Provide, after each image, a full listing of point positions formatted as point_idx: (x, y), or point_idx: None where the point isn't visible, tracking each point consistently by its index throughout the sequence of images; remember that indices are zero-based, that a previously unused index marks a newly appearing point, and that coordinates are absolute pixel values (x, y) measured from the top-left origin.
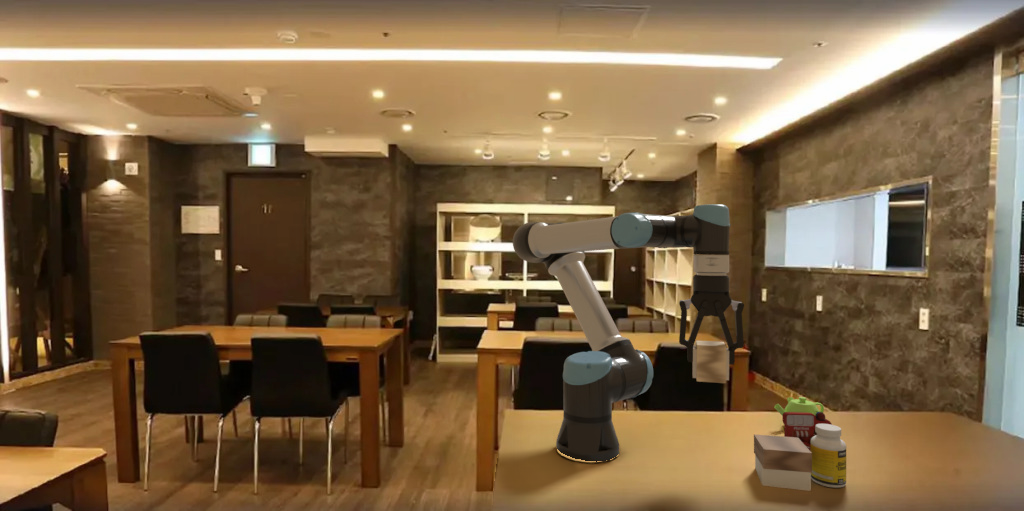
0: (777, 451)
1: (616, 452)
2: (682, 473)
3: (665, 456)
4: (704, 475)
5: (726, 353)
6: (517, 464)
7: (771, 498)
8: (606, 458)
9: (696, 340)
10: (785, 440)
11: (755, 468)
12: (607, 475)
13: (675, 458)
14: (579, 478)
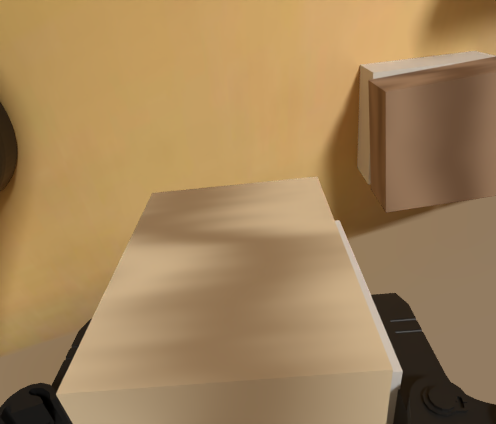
0: (419, 205)
1: (9, 151)
2: (187, 171)
3: (123, 76)
4: (235, 163)
5: None
6: None
7: (363, 220)
8: (5, 183)
9: (65, 395)
10: (475, 114)
11: (360, 69)
12: (48, 237)
13: (151, 80)
14: (10, 267)
